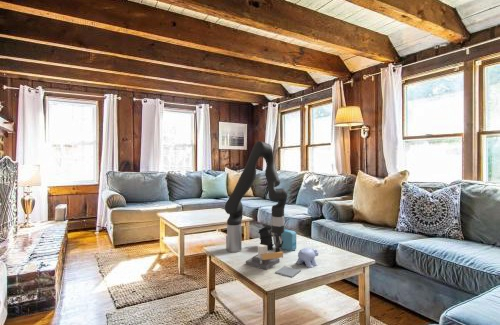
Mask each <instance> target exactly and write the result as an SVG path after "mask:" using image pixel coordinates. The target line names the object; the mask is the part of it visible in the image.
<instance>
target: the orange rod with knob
mask: <svg viewBox="0 0 500 325" xmlns="http://www.w3.org/2000/svg"><path fill="white" fill-rule="evenodd" d="M259 256H260V260H267V259H275V258H279V259H281V258H283V257H284V251H280V252H268V253H266V254H259Z"/></svg>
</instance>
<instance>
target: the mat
mask: <svg viewBox="0 0 500 325" xmlns="http://www.w3.org/2000/svg"><path fill="white" fill-rule="evenodd" d="M300 272H302V269H298V268H294V267H291V266H286V265H284V266H282V267H281V268H278V269H277V270H276V271H275V272H274V273H275V274H278V275H282V276H284V277H288V278H294V277H295V276H296V275H298V274H299V273H300Z"/></svg>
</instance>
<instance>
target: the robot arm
mask: <svg viewBox="0 0 500 325" xmlns="http://www.w3.org/2000/svg"><path fill="white" fill-rule="evenodd" d="M260 158H263V159H264V161H265V164H266V166H265V170H264V175H265V178H266V179H265V180H266V182H267V186H268V188H267V189H268V190H267V191H268V192H267V193H268V199H269V200H270V201H271V202H278V203H276V204H274V205H272V206H271V218H270V225H271V226H270V227H271V234H272V235H273V237H272V241H273V244H274V248H275V252H281V249H282V248H281V247H282V244H283V241H282V236H281V234H282V233H284V229H285V207H286V203H287V200H288V192H287V190H286V188H282V187H281V188H277V187H279V186H280V184H281V180H280V177H279V175H278V172H277V169H276V168H277V167H276V163H275V162H276V161H275V156H274V151H273V147H272V145H271V144H270V143H267V142H264V141H261V140H258V141H256V143H254V144H253V147H252V148H251V152H250V154H249V157H248V160H247V162H246V164H245V166H244V168H243V170H242V172H241V174H240V176H239V178H238V181H237V182H236V185H235V186H234V189H233V190H232V192H231V195H230V196H229V197H228V199H227V201H226V202H225V205H224V210H225V213H226V214H227V215H229V217H228V218H227V220H226V224H227V225H226V233H227V234H226V236H225V244H226V245H225V250H226V251H227V252H230V253H238V252H241V251H242V249H243V248H242V221H243V202H242V199H243V197H244V196H245V195H246V194H247V193H248V191H249V190H250V189H251V188H252V186H253V184H254V183H255V181H256V178H257V163H258V161H259V159H260Z"/></svg>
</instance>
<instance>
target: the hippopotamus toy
mask: <svg viewBox="0 0 500 325" xmlns="http://www.w3.org/2000/svg"><path fill="white" fill-rule="evenodd" d="M318 256H319V251H318V250H317V249H315V248H311V247H310V248H309V247H306V248H302V249H300V250H299V252H298V253H297V258H298V259H297V260H296V264H297V265H302V264H305V266H306V268H308V269H312V268H314V267H317V266H319V264H318V263H317V261H316V259H315V258H316V257H318Z"/></svg>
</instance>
